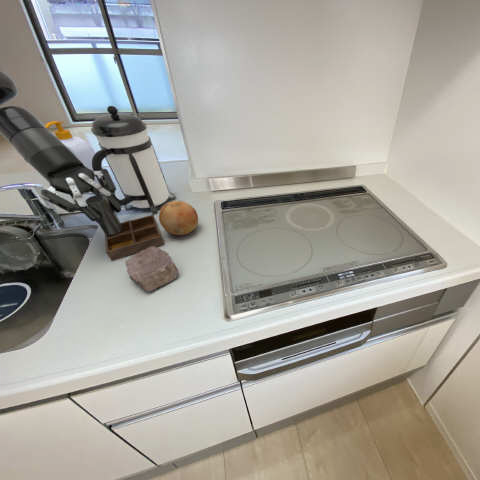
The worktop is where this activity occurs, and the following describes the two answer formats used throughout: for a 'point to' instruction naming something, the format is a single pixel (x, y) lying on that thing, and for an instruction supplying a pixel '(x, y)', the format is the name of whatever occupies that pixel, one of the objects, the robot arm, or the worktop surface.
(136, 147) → the coffee press
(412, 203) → the worktop surface
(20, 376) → the worktop surface
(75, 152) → the soap bottle
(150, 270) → the stone
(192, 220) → the onion
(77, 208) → the robot arm
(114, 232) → the dark grey cylinder
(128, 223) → the brown compartment tray
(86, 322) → the worktop surface
